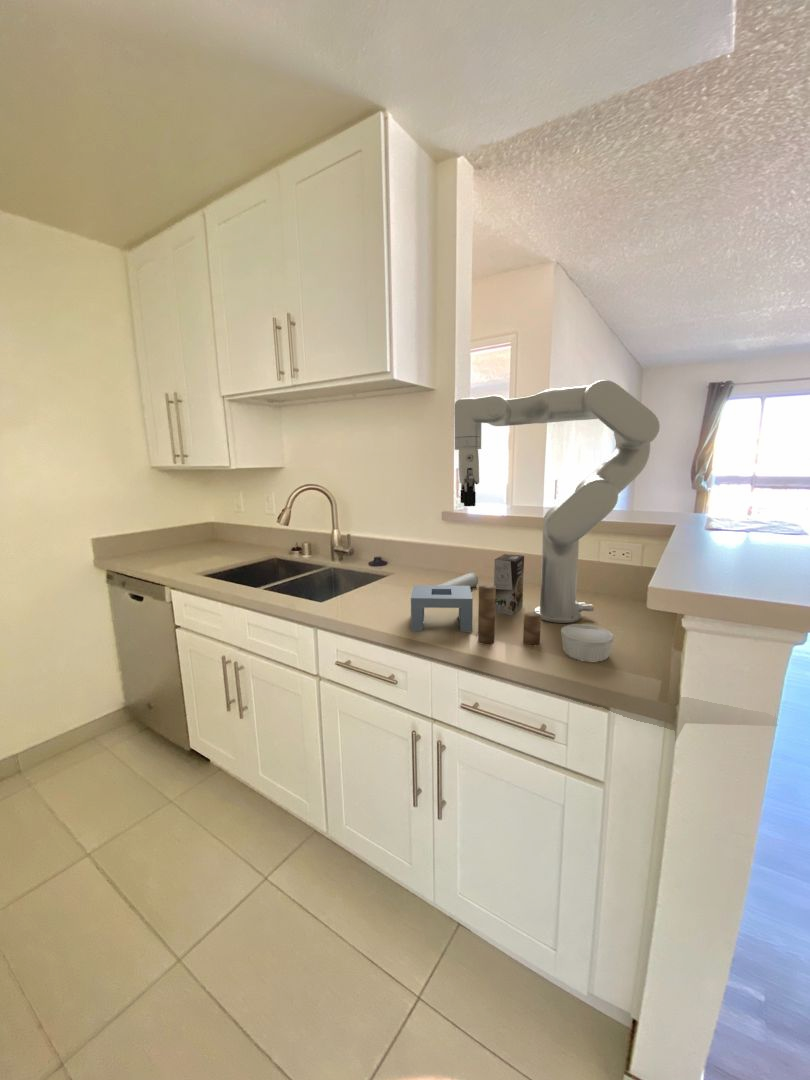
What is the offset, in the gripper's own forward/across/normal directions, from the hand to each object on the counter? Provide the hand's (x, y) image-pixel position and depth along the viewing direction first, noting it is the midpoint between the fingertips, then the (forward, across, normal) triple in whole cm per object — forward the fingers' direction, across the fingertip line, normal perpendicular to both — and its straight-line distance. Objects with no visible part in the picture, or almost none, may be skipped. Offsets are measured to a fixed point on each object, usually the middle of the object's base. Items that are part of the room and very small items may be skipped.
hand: (467, 504), depth 126 cm
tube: (+32, +15, +3) cm, 36 cm away
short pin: (+32, -25, -13) cm, 42 cm away
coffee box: (+32, -1, -12) cm, 34 cm away
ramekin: (+32, -31, -24) cm, 51 cm away
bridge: (+32, -12, +8) cm, 35 cm away
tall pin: (+32, -24, -2) cm, 40 cm away
